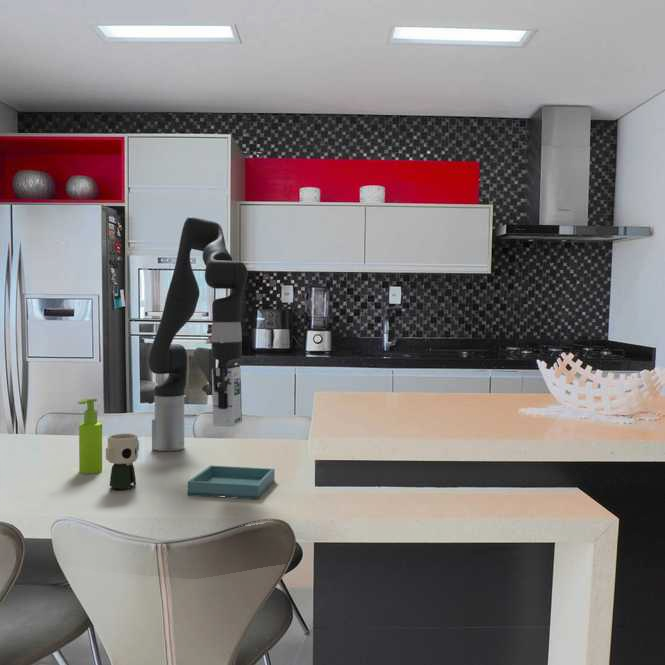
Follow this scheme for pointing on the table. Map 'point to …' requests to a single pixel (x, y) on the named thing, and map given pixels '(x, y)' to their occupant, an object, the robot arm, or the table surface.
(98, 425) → the soap dispenser
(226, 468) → the teal tray
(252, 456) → the table surface
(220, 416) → the syrup box
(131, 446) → the character mug
